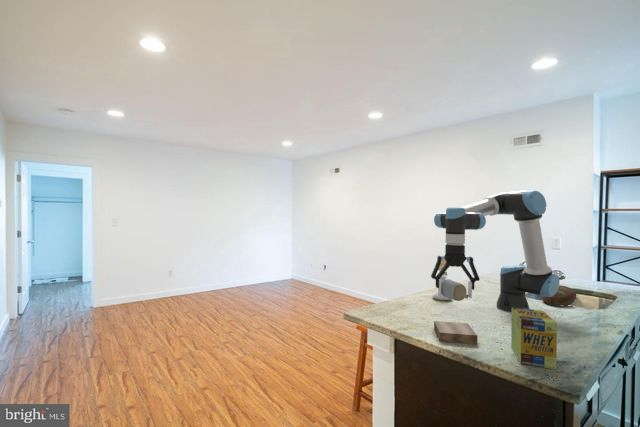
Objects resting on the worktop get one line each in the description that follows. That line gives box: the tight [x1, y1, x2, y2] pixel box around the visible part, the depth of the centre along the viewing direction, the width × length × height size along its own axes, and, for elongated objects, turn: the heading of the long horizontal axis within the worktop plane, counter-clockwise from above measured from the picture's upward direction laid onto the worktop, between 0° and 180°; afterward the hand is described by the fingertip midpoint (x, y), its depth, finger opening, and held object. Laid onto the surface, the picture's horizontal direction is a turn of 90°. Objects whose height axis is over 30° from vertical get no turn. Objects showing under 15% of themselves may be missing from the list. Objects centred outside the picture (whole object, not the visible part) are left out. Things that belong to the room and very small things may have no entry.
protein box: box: [510, 307, 558, 370], centre depth 112 cm, size 10×15×16 cm
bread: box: [540, 284, 577, 307], centre depth 189 cm, size 16×36×8 cm, turn 135°
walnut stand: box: [433, 320, 478, 345], centre depth 132 cm, size 14×14×4 cm
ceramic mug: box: [441, 278, 469, 302], centre depth 132 cm, size 11×8×8 cm
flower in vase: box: [432, 259, 451, 301], centre depth 188 cm, size 13×11×25 cm
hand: (454, 296), depth 132 cm, fingers closed on ceramic mug, 11 cm apart
